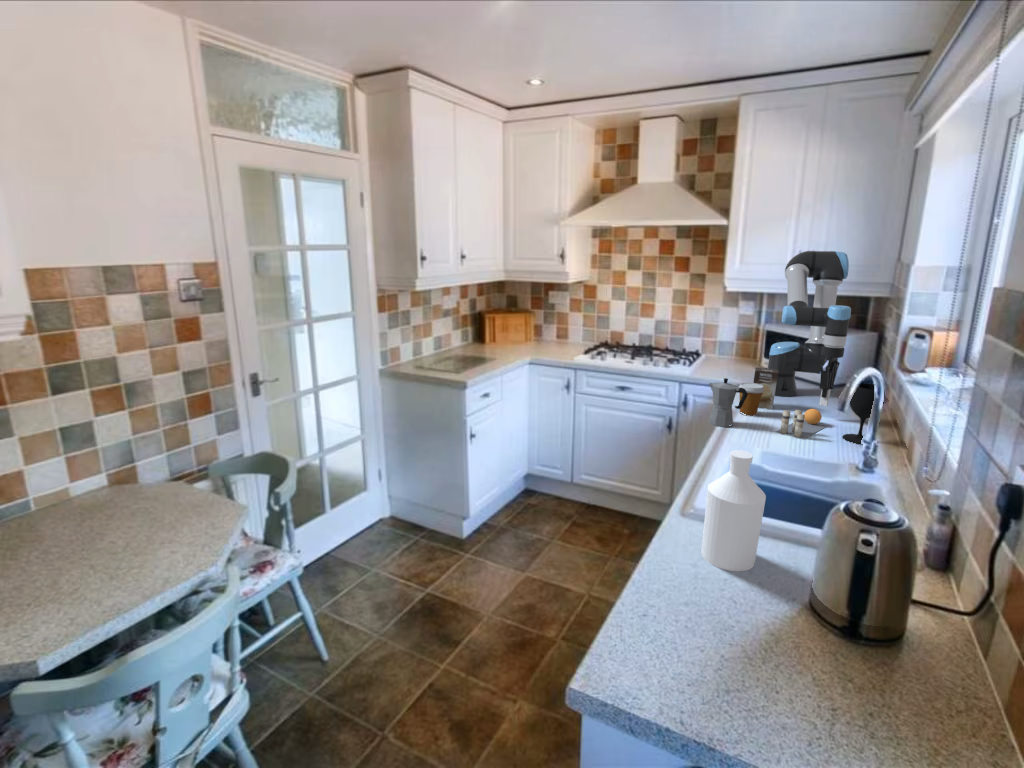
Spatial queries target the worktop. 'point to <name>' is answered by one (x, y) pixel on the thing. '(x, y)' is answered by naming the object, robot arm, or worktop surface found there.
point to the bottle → (733, 517)
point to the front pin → (795, 419)
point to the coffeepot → (724, 402)
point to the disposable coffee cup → (751, 398)
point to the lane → (805, 429)
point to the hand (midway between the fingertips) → (823, 404)
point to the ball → (812, 416)
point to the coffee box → (766, 385)
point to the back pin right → (785, 422)
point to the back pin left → (799, 425)
